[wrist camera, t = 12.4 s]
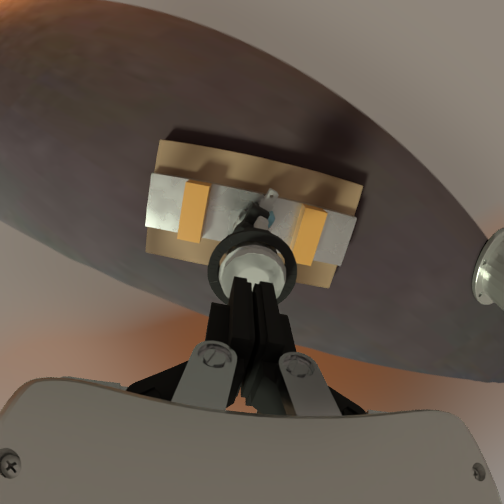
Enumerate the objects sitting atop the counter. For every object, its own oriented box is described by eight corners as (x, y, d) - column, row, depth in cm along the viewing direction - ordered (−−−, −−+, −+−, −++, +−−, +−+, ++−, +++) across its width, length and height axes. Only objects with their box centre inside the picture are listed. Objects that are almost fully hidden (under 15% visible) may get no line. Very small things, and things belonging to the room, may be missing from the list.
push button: (247, 173, 23) (247, 197, 14) (300, 204, 24) (331, 247, 15) (210, 238, 25) (190, 296, 16) (261, 265, 26) (267, 332, 17)
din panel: (357, 183, 26) (363, 186, 24) (325, 281, 30) (328, 288, 28) (164, 139, 24) (159, 139, 22) (150, 246, 28) (145, 252, 26)
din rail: (354, 215, 25) (357, 218, 25) (338, 262, 27) (340, 265, 26) (154, 172, 24) (151, 173, 23) (147, 223, 25) (145, 226, 25)
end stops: (323, 208, 24) (327, 213, 23) (307, 259, 26) (310, 265, 25) (189, 179, 23) (185, 181, 22) (180, 233, 25) (177, 238, 24)
